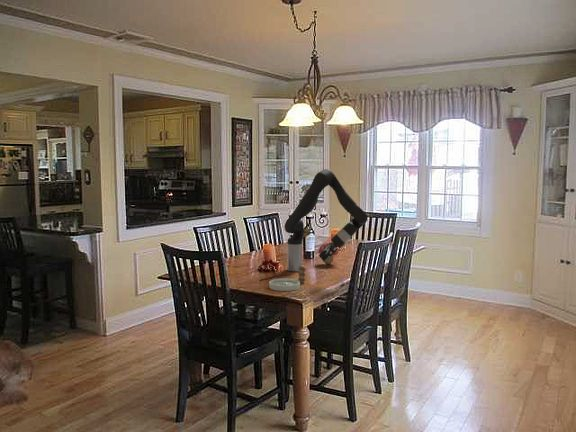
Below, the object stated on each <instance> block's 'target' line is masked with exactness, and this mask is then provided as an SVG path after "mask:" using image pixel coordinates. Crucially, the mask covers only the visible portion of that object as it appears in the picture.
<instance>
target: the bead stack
mask: <svg viewBox="0 0 576 432" xmlns="http://www.w3.org/2000/svg"><path fill="white" fill-rule="evenodd" d="M298 270H299V271H298V279H297V280H298V281H300V285H304V284H305V281H306V279H305V276H306V273H305V271H306V268H305V265H302V266H299V269H298Z"/></svg>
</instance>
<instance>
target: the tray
mask: <svg viewBox="0 0 576 432" xmlns="http://www.w3.org/2000/svg"><path fill="white" fill-rule="evenodd" d="M268 284H269V285H268V287H269V288H268V289H271V290H274V291H280V292H289V291H290V292H291V291H296V290H298V289H301V284H300V281H298V279H295V278H273V279H272V280H271V279H270V281H269V282H268Z"/></svg>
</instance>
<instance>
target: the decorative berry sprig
mask: <svg viewBox="0 0 576 432" xmlns="http://www.w3.org/2000/svg"><path fill="white" fill-rule="evenodd" d="M277 262H278V261H273V259H272V258H269V260H268V259H264V260H262V261H261V264H263V267H265V266H266V267H265V268H266V269H267V271H268V270H270V269H272V268H274V267H272V266H271V267H272V268H270V264H271V265H273V266H275V269H276V270H278V269H279V264H278V263H277ZM269 263H270V264H269ZM267 265H269V268H270V269H268V268H267ZM269 272H271V273H272V274H273V275H274V276H269V277H265V278H261V279H259V281H266V280H271V279H276V278H279V277H287V276H291V275H292V274H291V273H289V274H282V275H277V274H276V273H275V272H274V271H273V270H270V271H269Z"/></svg>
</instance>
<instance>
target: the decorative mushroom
mask: <svg viewBox="0 0 576 432" xmlns="http://www.w3.org/2000/svg"><path fill="white" fill-rule="evenodd" d="M329 243H330V242H329V241H328V242H324V243H322V244H321V245H320V247H319V248H318V255H319V254H320V253H321V252H322V251H323V248H325V247H326V246H327V245H328V244H329ZM325 254H326V253H325ZM338 254H339V248H338V247H337V250H336V251H335V253H334V254H333V255H332V256H331V257H330V256H328V258H327V259H326V260H325V261H323V260H322V262H323V263H324V264H326V265H331V264H333V262H334V256H337V255H338Z"/></svg>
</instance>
